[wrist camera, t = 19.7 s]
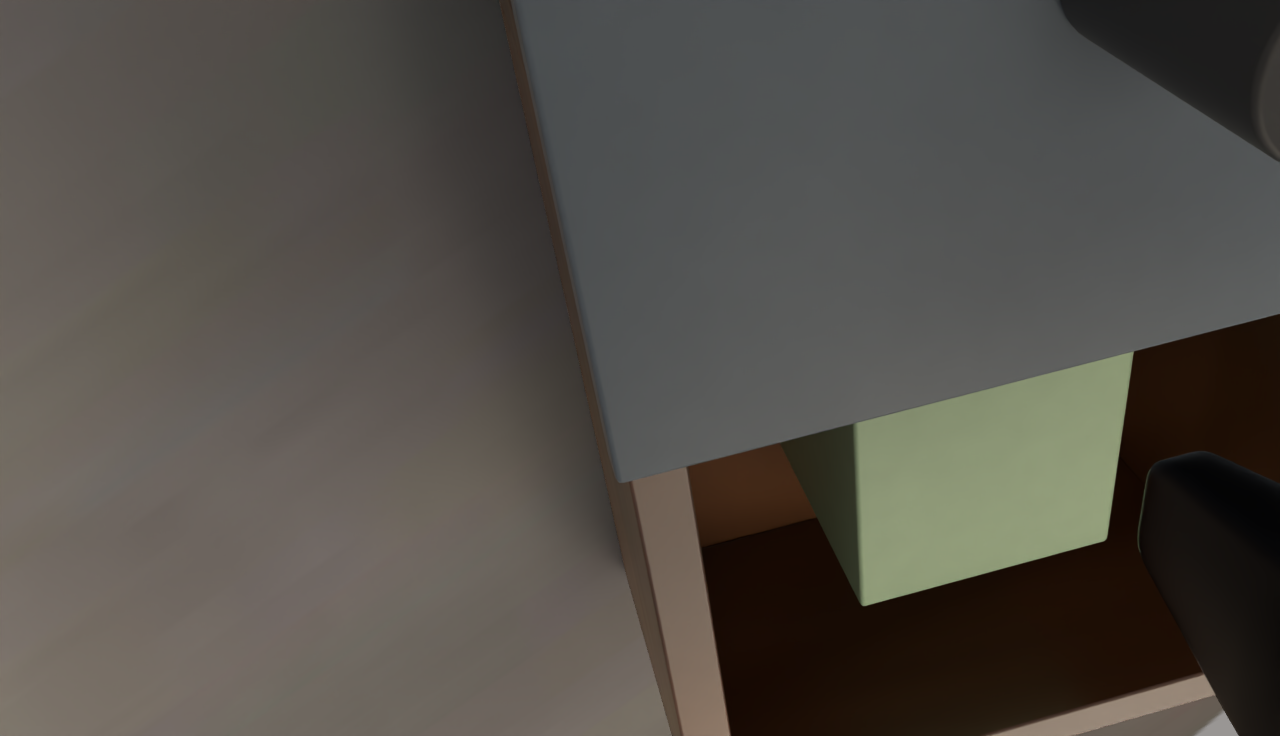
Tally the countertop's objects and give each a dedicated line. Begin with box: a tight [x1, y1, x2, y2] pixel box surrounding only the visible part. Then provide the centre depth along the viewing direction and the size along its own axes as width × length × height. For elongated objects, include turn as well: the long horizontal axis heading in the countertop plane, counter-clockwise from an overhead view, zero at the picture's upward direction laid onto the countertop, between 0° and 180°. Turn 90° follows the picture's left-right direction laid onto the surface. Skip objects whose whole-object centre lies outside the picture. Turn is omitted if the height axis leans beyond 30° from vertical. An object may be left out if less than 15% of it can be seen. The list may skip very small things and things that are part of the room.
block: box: [780, 352, 1134, 606], centre depth 20 cm, size 4×4×4 cm
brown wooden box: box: [499, 0, 1280, 736], centre depth 19 cm, size 14×12×7 cm
